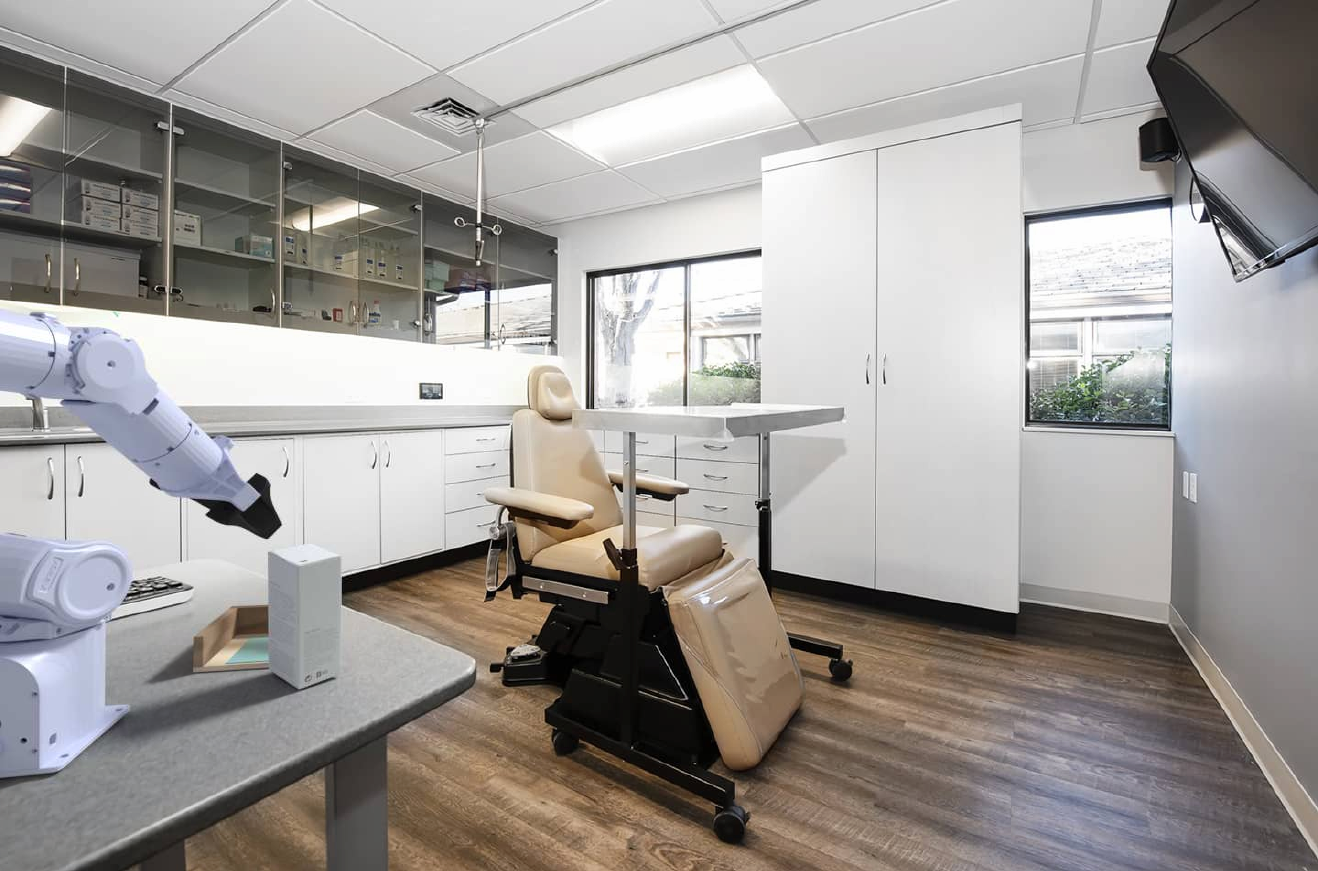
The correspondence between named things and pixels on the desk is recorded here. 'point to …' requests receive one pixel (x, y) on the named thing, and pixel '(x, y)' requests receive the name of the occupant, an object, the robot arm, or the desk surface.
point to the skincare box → (304, 614)
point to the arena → (234, 641)
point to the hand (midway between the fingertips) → (249, 518)
